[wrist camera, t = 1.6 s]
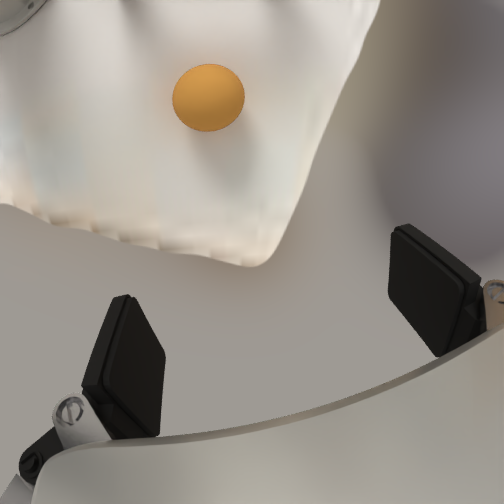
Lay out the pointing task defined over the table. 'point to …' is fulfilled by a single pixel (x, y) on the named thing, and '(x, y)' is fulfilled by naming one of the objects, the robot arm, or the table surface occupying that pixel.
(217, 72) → the ball
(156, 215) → the table surface
